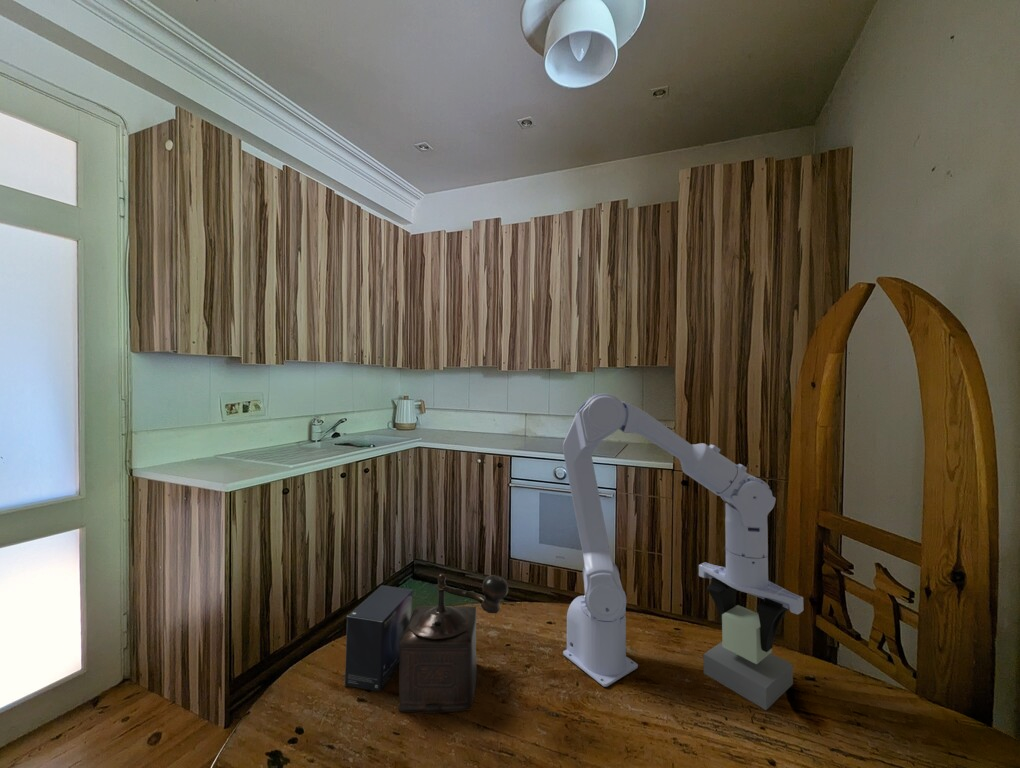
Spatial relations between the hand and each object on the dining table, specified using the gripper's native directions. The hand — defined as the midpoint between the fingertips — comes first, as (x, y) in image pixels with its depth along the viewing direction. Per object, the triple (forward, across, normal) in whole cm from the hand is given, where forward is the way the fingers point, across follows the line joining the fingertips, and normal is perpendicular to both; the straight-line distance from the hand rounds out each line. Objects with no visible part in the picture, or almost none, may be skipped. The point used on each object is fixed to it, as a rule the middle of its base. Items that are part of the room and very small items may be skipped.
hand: (747, 639), depth 62 cm
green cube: (+2, 0, 0) cm, 2 cm away
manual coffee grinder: (+6, +24, +38) cm, 45 cm away
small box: (+6, +35, +46) cm, 58 cm away
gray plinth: (+6, 0, 0) cm, 6 cm away
